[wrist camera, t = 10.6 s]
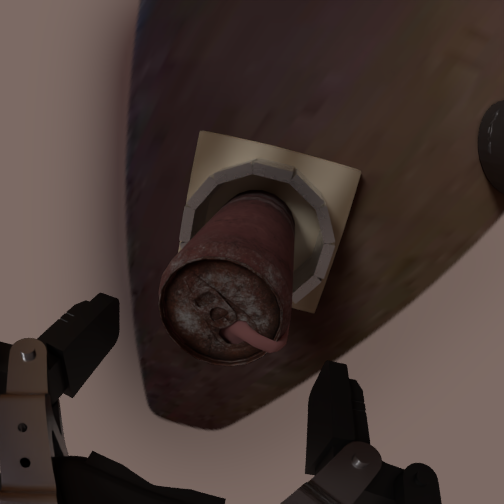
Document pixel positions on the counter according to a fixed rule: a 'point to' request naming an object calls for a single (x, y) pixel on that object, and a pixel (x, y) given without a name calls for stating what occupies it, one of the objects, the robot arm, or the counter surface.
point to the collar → (197, 205)
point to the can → (233, 283)
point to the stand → (279, 191)
